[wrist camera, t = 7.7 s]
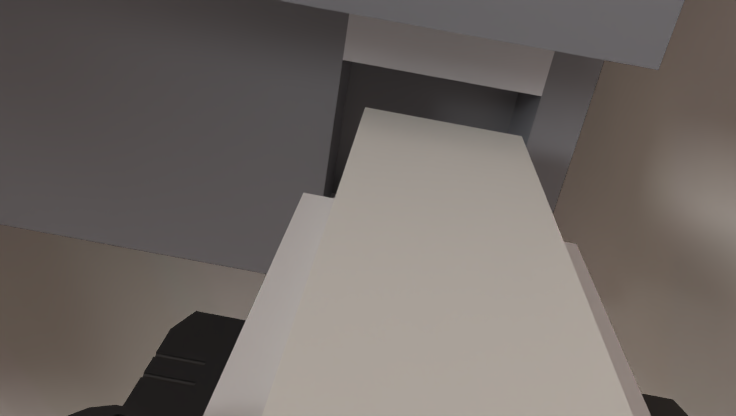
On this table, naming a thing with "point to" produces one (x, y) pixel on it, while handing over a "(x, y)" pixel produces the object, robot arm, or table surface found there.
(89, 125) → the grey socket holder
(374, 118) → the cream long block
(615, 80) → the table surface
